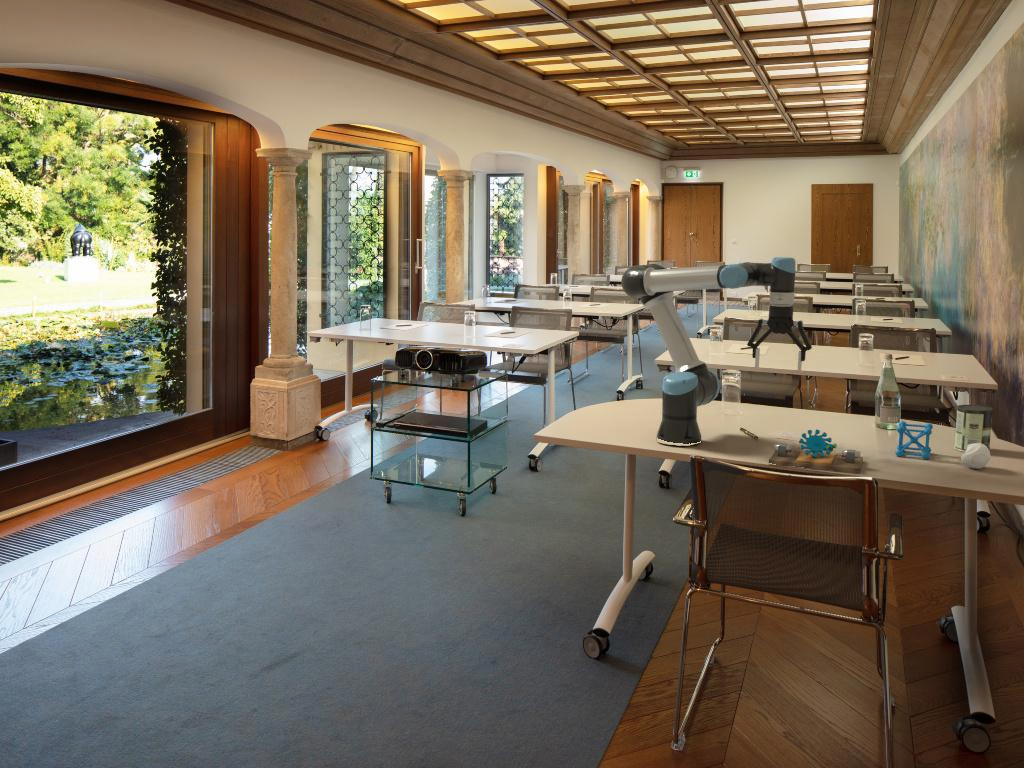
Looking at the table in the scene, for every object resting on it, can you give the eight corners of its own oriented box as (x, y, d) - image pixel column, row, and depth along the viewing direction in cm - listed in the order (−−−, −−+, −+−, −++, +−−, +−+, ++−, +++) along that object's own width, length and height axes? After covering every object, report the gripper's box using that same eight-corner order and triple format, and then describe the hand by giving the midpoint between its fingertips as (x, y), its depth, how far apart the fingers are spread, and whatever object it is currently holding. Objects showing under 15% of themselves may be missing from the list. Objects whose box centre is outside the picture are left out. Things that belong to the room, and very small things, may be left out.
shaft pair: (773, 455, 269) (773, 445, 269) (775, 452, 273) (775, 442, 272) (858, 464, 258) (859, 453, 258) (859, 460, 262) (860, 450, 261)
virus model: (797, 452, 264) (801, 425, 269) (795, 461, 269) (799, 435, 274) (835, 459, 261) (838, 432, 266) (832, 469, 266) (835, 441, 271)
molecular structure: (894, 457, 272) (896, 426, 270) (897, 449, 280) (899, 420, 279) (929, 460, 267) (931, 429, 265) (931, 453, 276) (933, 422, 274)
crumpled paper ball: (963, 463, 263) (965, 438, 262) (991, 467, 258) (993, 442, 257) (957, 469, 257) (959, 444, 256) (986, 473, 252) (988, 447, 251)
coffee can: (979, 445, 284) (982, 404, 281) (996, 453, 274) (999, 410, 271) (947, 446, 284) (951, 404, 282) (963, 454, 274) (966, 410, 271)
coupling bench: (768, 464, 265) (768, 458, 264) (776, 453, 278) (776, 447, 278) (859, 473, 254) (859, 467, 253) (862, 461, 267) (863, 455, 267)
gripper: (740, 304, 282) (737, 368, 286) (820, 307, 271) (815, 374, 274) (745, 302, 288) (742, 365, 292) (823, 305, 277) (819, 370, 281)
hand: (777, 369), depth 283 cm, fingers open, 13 cm apart
